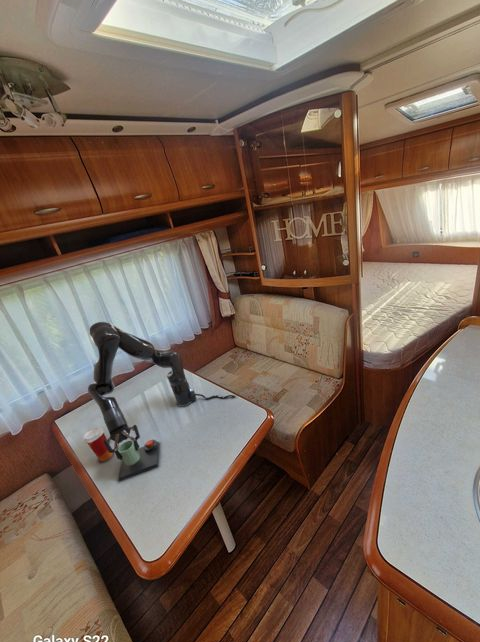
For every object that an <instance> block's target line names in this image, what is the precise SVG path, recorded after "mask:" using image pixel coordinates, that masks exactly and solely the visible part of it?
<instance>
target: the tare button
mask: <svg viewBox="0 0 480 642" xmlns="http://www.w3.org/2000/svg"><path fill="white" fill-rule="evenodd" d="M152 440H153V439H149V440H147V441H146V442H145V444H146V446H147V447H148V448H149V447H152V446H153V444H154V443H153V441H152Z"/></svg>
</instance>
